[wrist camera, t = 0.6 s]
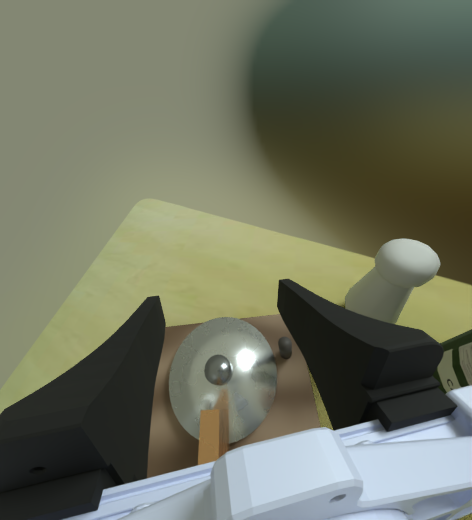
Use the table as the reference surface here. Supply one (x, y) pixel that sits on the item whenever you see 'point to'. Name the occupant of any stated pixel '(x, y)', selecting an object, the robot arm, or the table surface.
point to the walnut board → (274, 425)
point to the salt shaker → (392, 279)
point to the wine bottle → (455, 363)
